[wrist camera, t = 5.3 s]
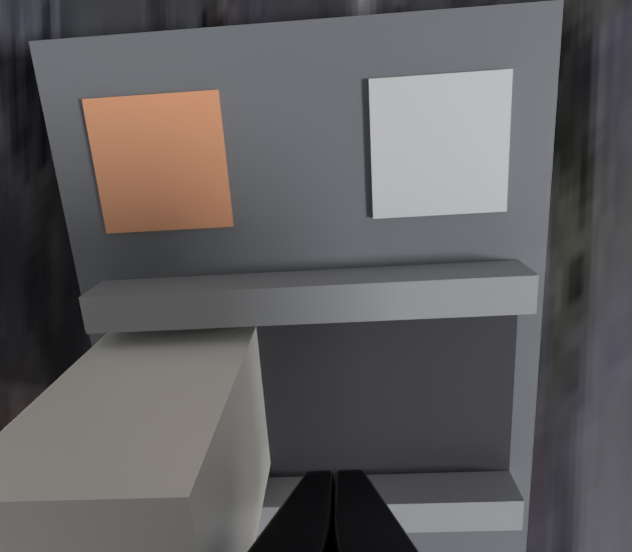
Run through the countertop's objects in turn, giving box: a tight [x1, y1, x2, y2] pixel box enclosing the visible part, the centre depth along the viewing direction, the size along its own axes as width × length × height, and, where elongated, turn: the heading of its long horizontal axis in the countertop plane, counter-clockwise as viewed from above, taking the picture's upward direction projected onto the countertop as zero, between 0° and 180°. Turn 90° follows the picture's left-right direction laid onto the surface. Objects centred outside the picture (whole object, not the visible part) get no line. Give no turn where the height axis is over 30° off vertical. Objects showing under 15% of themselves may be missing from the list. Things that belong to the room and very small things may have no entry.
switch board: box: [28, 0, 564, 552], centre depth 11 cm, size 14×9×4 cm, turn 4°
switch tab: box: [0, 326, 271, 552], centre depth 8 cm, size 3×3×5 cm
